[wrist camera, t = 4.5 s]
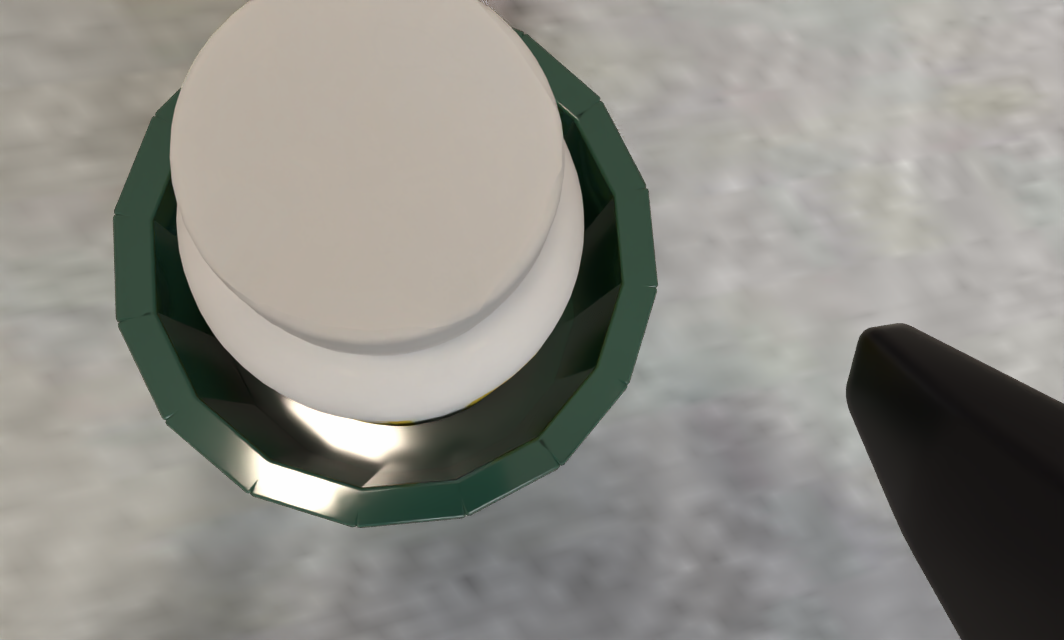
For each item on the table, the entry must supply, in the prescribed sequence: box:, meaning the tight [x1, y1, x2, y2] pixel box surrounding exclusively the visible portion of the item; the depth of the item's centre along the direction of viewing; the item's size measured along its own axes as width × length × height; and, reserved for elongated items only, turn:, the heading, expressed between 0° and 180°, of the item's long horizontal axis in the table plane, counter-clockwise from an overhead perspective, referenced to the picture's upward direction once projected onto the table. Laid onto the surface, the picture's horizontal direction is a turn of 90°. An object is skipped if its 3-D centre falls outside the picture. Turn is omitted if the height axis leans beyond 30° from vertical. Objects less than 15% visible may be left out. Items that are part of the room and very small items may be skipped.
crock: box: [113, 28, 658, 528], centre depth 16 cm, size 8×8×5 cm
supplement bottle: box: [170, 0, 584, 426], centre depth 14 cm, size 5×5×10 cm
